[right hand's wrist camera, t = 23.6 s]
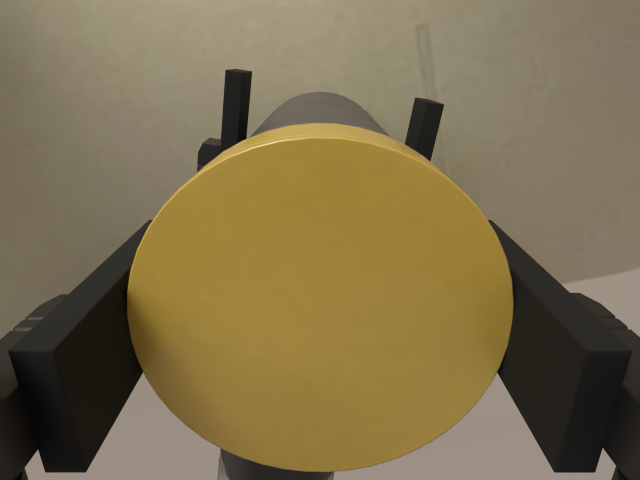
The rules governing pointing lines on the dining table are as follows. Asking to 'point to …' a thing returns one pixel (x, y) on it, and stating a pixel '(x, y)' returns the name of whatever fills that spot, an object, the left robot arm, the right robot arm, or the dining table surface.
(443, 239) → the lid
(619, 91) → the dining table surface
